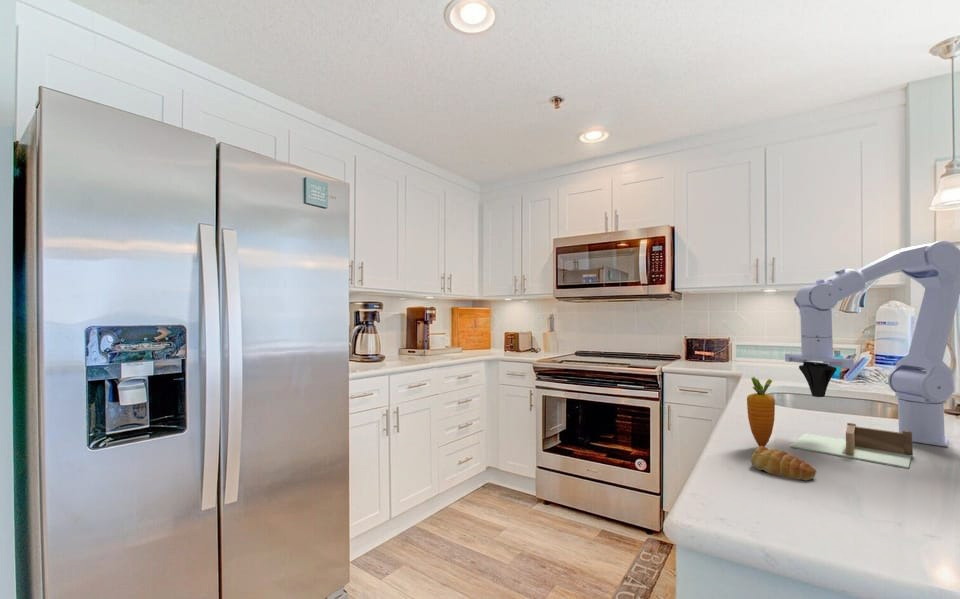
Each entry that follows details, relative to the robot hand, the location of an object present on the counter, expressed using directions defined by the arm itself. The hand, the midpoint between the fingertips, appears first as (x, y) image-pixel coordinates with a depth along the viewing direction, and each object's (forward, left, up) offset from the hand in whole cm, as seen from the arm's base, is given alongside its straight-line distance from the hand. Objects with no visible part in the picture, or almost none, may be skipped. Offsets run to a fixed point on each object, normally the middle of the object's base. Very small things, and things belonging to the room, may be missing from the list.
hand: (818, 396), depth 100 cm
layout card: (+6, +6, -9) cm, 13 cm away
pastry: (+31, -1, -10) cm, 32 cm away
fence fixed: (+3, +10, -9) cm, 14 cm away
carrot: (+18, -7, -10) cm, 22 cm away
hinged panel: (+8, +6, -9) cm, 14 cm away
